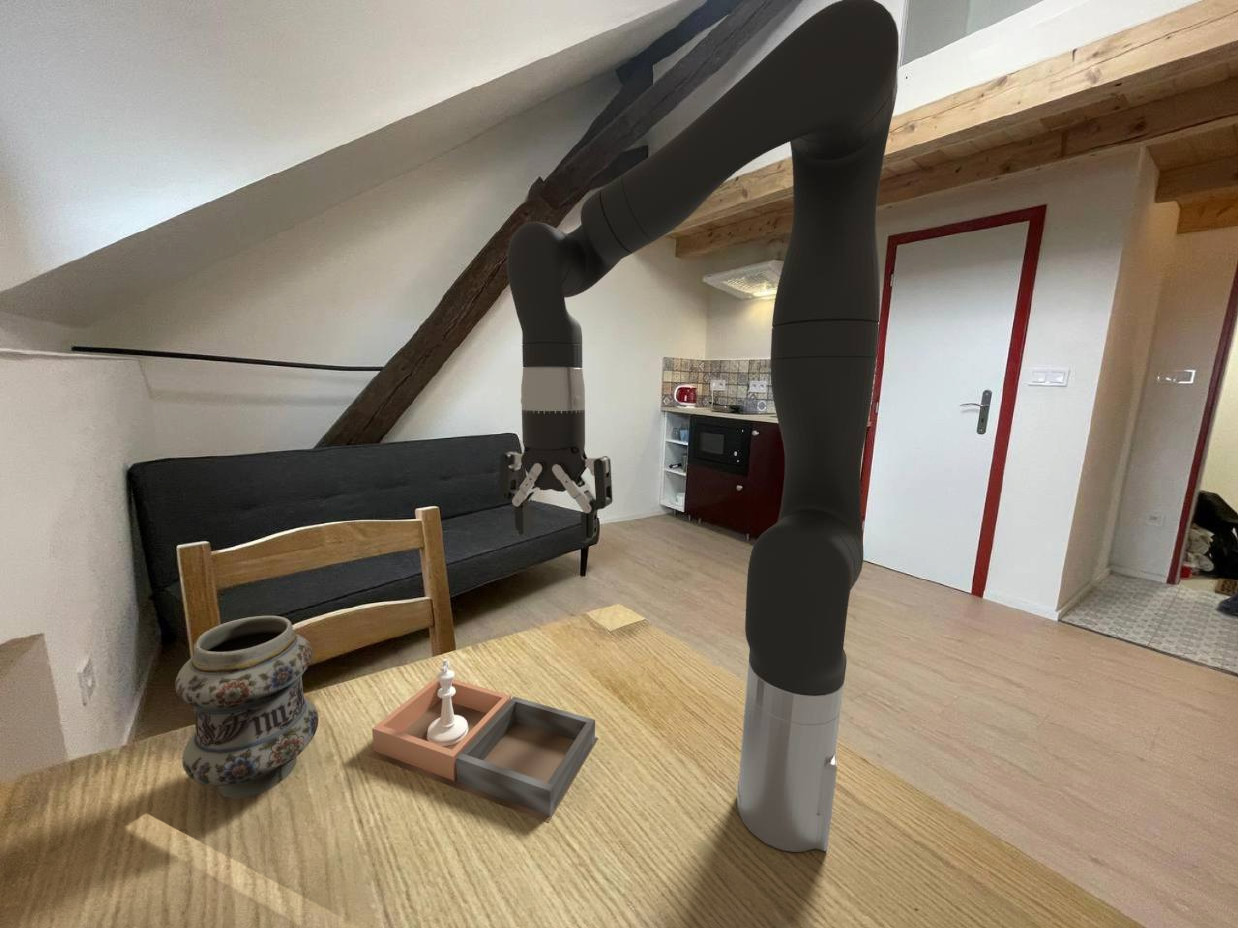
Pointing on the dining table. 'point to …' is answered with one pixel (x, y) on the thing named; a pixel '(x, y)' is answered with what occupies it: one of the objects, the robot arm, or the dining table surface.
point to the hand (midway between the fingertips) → (555, 537)
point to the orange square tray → (426, 753)
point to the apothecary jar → (247, 705)
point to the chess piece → (447, 713)
